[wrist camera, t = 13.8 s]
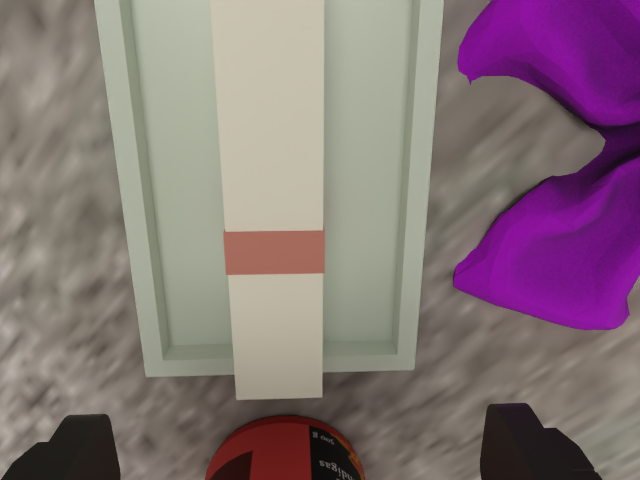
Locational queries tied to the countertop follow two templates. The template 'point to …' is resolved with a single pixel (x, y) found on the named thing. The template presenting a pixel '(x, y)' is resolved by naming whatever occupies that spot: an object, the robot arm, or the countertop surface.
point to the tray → (338, 178)
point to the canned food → (285, 452)
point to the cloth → (574, 189)
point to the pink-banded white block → (272, 190)
